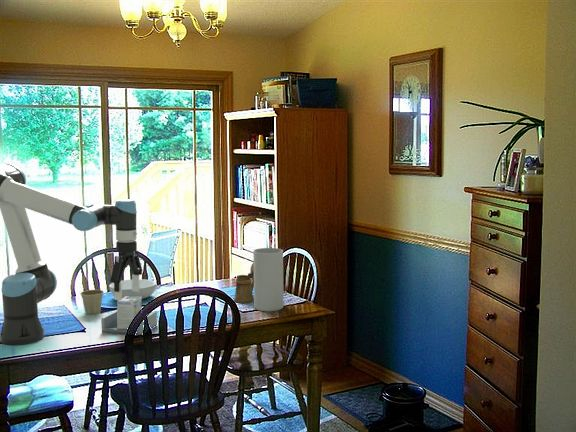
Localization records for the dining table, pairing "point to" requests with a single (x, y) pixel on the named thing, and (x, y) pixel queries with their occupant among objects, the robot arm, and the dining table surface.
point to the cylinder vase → (268, 279)
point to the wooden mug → (245, 287)
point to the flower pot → (92, 301)
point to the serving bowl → (144, 288)
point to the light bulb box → (127, 310)
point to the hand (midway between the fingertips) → (127, 295)
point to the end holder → (111, 327)
